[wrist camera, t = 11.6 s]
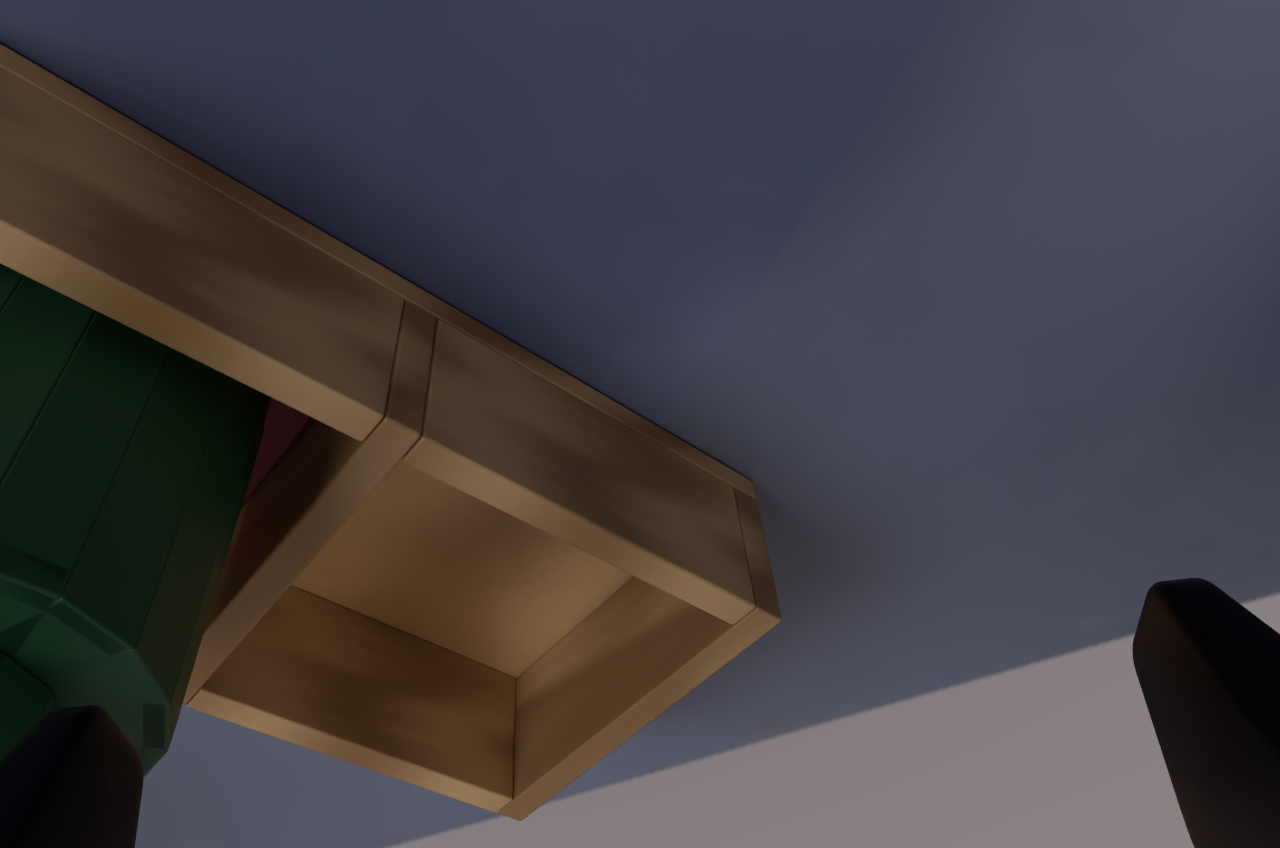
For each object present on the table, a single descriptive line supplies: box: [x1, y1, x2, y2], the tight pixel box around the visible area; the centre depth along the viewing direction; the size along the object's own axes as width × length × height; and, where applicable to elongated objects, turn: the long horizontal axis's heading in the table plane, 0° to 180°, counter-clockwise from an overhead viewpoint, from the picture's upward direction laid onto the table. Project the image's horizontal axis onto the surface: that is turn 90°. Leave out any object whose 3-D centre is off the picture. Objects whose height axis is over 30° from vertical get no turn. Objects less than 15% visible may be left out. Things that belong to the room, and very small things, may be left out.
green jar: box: [0, 263, 271, 778], centre depth 16 cm, size 6×6×10 cm
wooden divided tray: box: [0, 44, 782, 821], centre depth 21 cm, size 17×9×4 cm, turn 51°
